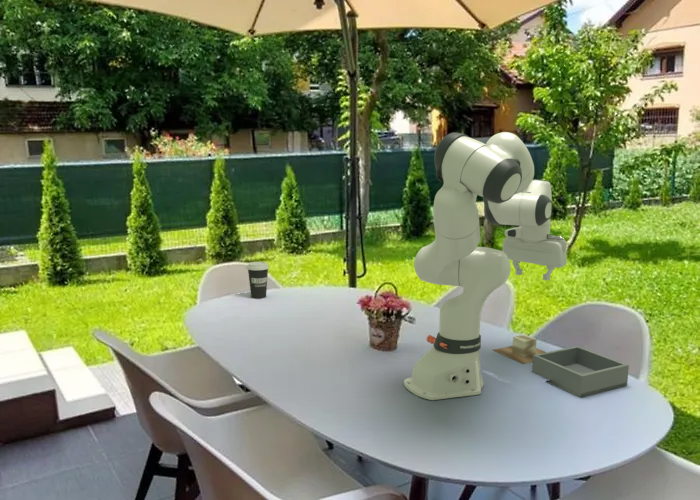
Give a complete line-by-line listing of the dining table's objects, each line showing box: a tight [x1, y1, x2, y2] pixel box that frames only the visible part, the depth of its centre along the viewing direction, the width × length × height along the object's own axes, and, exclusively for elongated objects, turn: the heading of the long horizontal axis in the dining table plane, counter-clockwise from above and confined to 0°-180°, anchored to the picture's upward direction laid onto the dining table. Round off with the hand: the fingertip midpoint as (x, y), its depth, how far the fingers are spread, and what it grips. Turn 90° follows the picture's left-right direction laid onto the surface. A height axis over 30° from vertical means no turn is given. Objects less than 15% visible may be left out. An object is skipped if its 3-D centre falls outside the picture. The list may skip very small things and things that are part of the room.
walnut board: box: [492, 345, 547, 365], centre depth 190 cm, size 14×14×1 cm
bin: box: [531, 345, 630, 399], centre depth 171 cm, size 18×18×6 cm
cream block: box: [512, 334, 537, 357], centre depth 190 cm, size 5×5×5 cm
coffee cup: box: [246, 261, 270, 300], centre depth 263 cm, size 10×10×15 cm
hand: (532, 277), depth 184 cm, fingers open, 8 cm apart
